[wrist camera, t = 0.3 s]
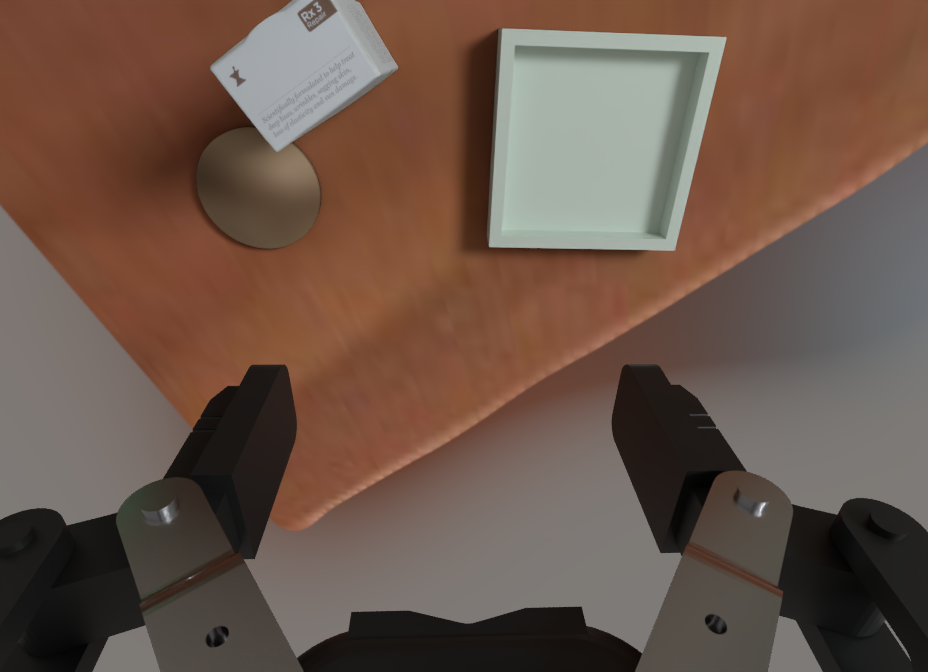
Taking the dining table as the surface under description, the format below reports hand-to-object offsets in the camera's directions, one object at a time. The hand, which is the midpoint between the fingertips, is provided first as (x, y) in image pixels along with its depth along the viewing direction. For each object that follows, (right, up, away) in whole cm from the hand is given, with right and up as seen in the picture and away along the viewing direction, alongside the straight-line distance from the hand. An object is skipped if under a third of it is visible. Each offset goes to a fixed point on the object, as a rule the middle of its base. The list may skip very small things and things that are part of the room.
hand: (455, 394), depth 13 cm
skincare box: (-7, +18, +20) cm, 28 cm away
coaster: (-14, +11, +23) cm, 29 cm away
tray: (+9, +14, +23) cm, 28 cm away
